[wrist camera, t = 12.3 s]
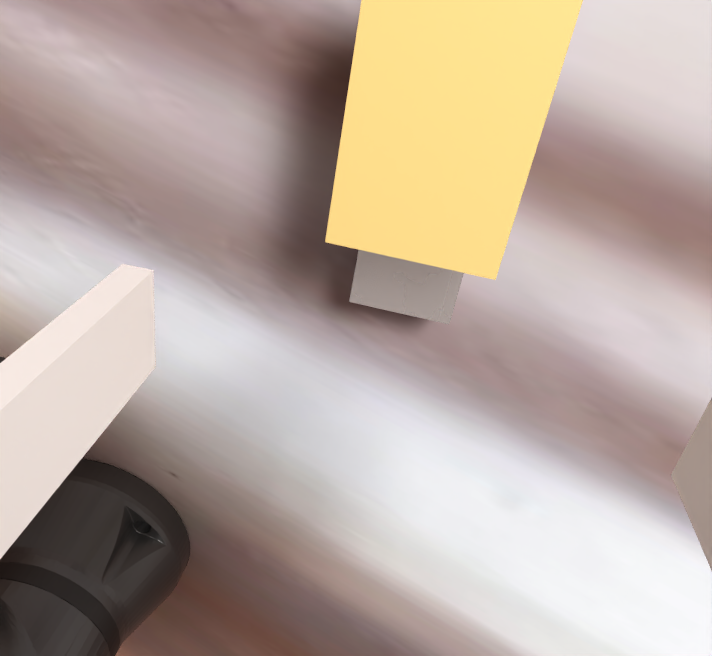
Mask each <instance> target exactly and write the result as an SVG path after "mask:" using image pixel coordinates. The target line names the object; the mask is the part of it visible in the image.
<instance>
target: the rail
mask: <svg viewBox="0 0 712 656" xmlns="http://www.w3.org/2000/svg"><path fill="white" fill-rule="evenodd" d="M463 274H464V273H462V272H458V271H453V270H449V269H444V268H440V267H435V266H431V265H426V264H422V263H417V262H413V261H408V260H404V259H399V258H395V257H390V256H386V255H381V254H377V253H372V252H367V251H363V250H359V251H358V256H357V262H356V267H355V273H354V278H353V284H352V289H351V295H350V300H349V302H352V303H357V304H361V305H365V306H370V307H374V308H379V309H383V310H387V311H392V312H396V313H401V314H405V315H410V316H414V317H418V318H423V319H427V320H432V321H436V322H440V323H445V324H449V323H450V320H451V316H452V313H453V309H454V306H455V302H456V299H457V295H458V291H459V288H460V284H461V281H462V277H463Z"/></svg>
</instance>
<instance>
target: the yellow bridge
mask: <svg viewBox="0 0 712 656" xmlns="http://www.w3.org/2000/svg"><path fill="white" fill-rule="evenodd" d="M582 1H583V0H362V1H361V8H360V14H359V21H358V28H357V34H356V41H355V47H354V54H353V61H352V67H351V74H350V80H349V87H348V94H347V100H346V107H345V113H344V120H343V127H342V133H341V140H340V147H339V153H338V160H337V166H336V173H335V180H334V186H333V193H332V199H331V206H330V213H329V219H328V226H327V232H326V239H325V242H327V243H331V244H336V245H340V246H345V247H349V248H354V249H358V250H363V251H367V252H372V253H377V254H381V255H386V256H390V257H395V258H399V259H404V260H408V261H413V262H417V263H422V264H426V265H431V266H435V267H440V268H444V269H449V270H453V271H458V272H462V273H467V274H471V275H476V276H480V277H485V278H489V279H494V280H495V279H496V276H497V273H498V270H499V267H500V263H501V260H502V257H503V254H504V251H505V248H506V244H507V241H508V238H509V235H510V232H511V228H512V225H513V222H514V219H515V216H516V212H517V209H518V206H519V203H520V200H521V196H522V193H523V190H524V187H525V184H526V180H527V177H528V174H529V171H530V168H531V164H532V161H533V158H534V155H535V152H536V148H537V145H538V142H539V139H540V136H541V132H542V129H543V126H544V123H545V120H546V116H547V113H548V110H549V107H550V104H551V100H552V97H553V94H554V91H555V88H556V85H557V81H558V78H559V75H560V72H561V69H562V65H563V62H564V59H565V56H566V53H567V49H568V46H569V43H570V40H571V37H572V33H573V30H574V27H575V24H576V21H577V17H578V14H579V11H580V8H581V5H582Z"/></svg>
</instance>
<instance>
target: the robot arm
mask: <svg viewBox="0 0 712 656" xmlns="http://www.w3.org/2000/svg"><path fill="white" fill-rule="evenodd" d="M155 367H156V359H155V314H154V270H150V269H145V268H140V267H135V266H130V265H125V264H122V265H120V266H119V267H118V268H117V269H116V270H114V271H113V272H112V273H111V274H109V275H108V276H107V277H106V278H105V279H103V280H102V281H101V282H100V283H98V284H97V285H96V286H95V287H93V288H92V289H91V290H90V291H89V292H87V293H86V294H85V295H84V296H82V297H81V298H80V299H79V300H77V301H76V302H75V303H74V304H73V305H71V306H70V307H69V308H68V309H66V310H65V311H64V312H63V313H62V314H60V315H59V316H58V317H57V318H55V319H54V320H53V321H52V322H50V323H49V324H48V325H47V326H46V327H44V328H43V329H42V330H41V331H39V332H38V333H37V334H36V335H34V336H33V337H32V338H31V339H30V340H28V341H27V342H26V343H25V344H23V345H22V346H21V347H20V348H18V349H17V350H16V351H15V352H14V353H12V354H11V355H10V356H9V357H7V358H3V357H0V656H115V655H116V653H117V651H118V649H119V648H120V646H121V644H122V643H123V641H124V640H125V639H126V638H127V637H128V636H129V635H130V634H131V633H132V632H133V631H134V630H135V629H136V628H137V627H138V626H139V625H140V624H141V623H142V622H143V621H144V620H145V619H146V618H147V617H148V616H149V615H150V614H151V613H152V612H153V611H154V610H155V609H156V608H157V607H158V606H159V605H160V604H161V603H162V602H163V601H164V600H165V599H166V598H167V597H168V596H169V595H170V594H171V593H172V591H173V590H174V588H175V587H176V585H177V583H178V581H179V579H180V577H181V575H182V573H183V571H184V569H185V567H186V565H187V563H188V560H189V555H190V542H189V537H188V534H187V531H186V528H185V526H184V524H183V522H182V520H181V518H180V517H179V515H178V514H177V512H176V511H175V510H174V508H173V507H172V506H171V505H170V504H169V503H168V501H167V500H166V499H165V498H164V497H163V496H161V495H160V494H159V493H158V492H157V491H156V490H154V489H153V488H152V487H151V486H149V485H148V484H146V483H145V482H143V481H142V480H140V479H138V478H137V477H135V476H133V475H131V474H129V473H127V472H125V471H123V470H121V469H118V468H116V467H113V466H110V465H107V464H103V463H100V462H95V461H90V460H82V458H83V456H84V455H85V454H86V453H87V451H88V450H89V449H90V448H91V446H92V445H93V444H94V443H95V441H96V440H97V439H98V438H99V436H100V435H101V434H102V433H103V432H104V430H105V429H106V428H107V427H108V425H109V424H110V423H111V422H112V420H113V419H114V418H115V417H116V415H117V414H118V413H119V412H120V411H121V409H122V408H123V407H124V406H125V404H126V403H127V402H128V401H129V399H130V398H131V397H132V396H133V394H134V393H135V392H136V391H137V389H138V388H139V387H140V386H141V385H142V383H143V382H144V381H145V380H146V378H147V377H148V376H149V375H150V373H151V372H152V371H153V370H154V368H155ZM671 476H672V479H673V481H674V483H675V486H676V488H677V490H678V493H679V495H680V497H681V500H682V502H683V504H684V507H685V509H686V511H687V514H688V516H689V519H690V521H691V523H692V526H693V528H694V530H695V533H696V535H697V537H698V540H699V542H700V544H701V547H702V549H703V551H704V554H705V556H706V558H707V561H708V563H709V565H710V568H711V570H712V399H711V400H710V402H709V404H708V406H707V408H706V410H705V412H704V414H703V415H702V417H701V419H700V421H699V423H698V425H697V427H696V429H695V431H694V432H693V434H692V436H691V438H690V440H689V442H688V444H687V446H686V447H685V449H684V451H683V453H682V455H681V457H680V459H679V461H678V462H677V464H676V466H675V468H674V470H673V472H672V474H671Z"/></svg>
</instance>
